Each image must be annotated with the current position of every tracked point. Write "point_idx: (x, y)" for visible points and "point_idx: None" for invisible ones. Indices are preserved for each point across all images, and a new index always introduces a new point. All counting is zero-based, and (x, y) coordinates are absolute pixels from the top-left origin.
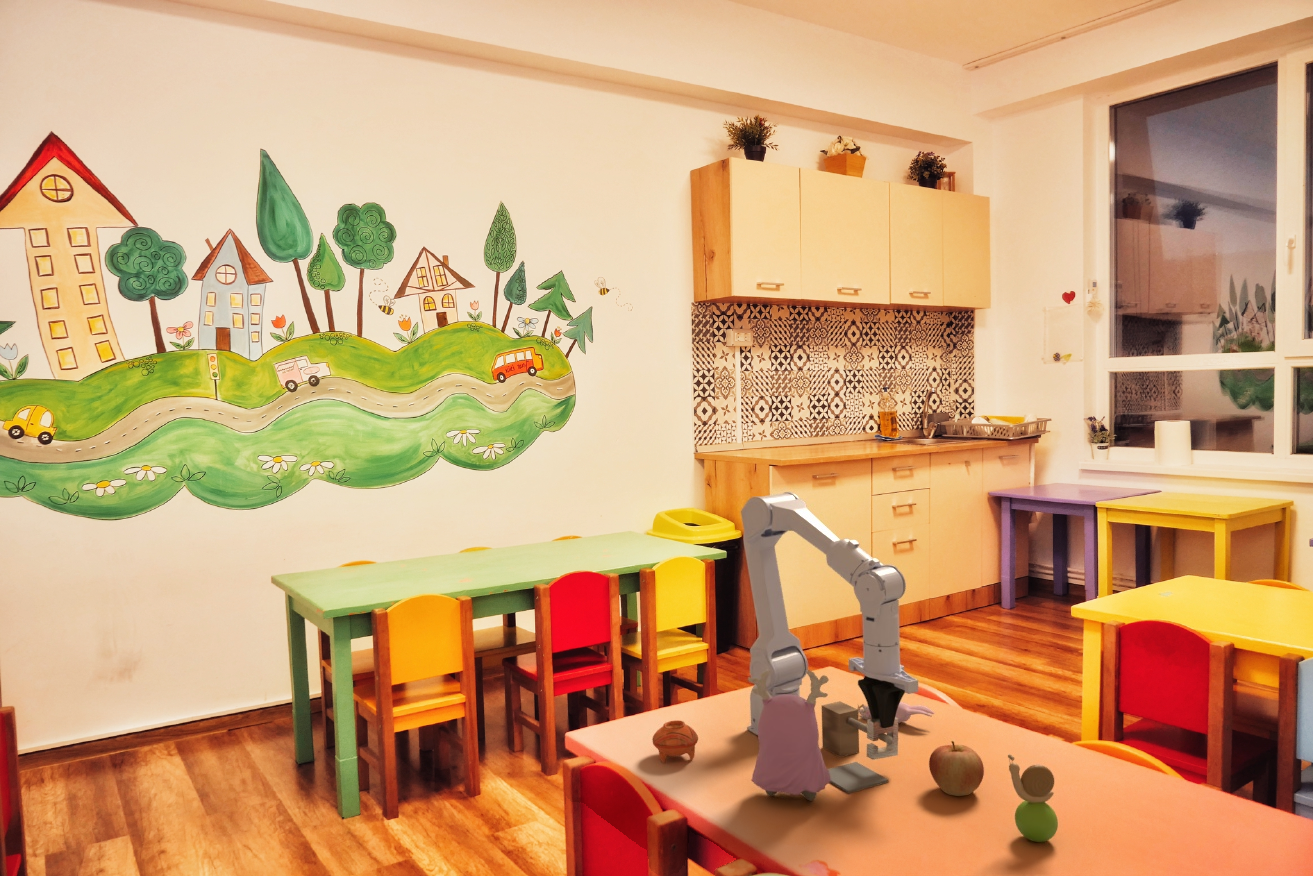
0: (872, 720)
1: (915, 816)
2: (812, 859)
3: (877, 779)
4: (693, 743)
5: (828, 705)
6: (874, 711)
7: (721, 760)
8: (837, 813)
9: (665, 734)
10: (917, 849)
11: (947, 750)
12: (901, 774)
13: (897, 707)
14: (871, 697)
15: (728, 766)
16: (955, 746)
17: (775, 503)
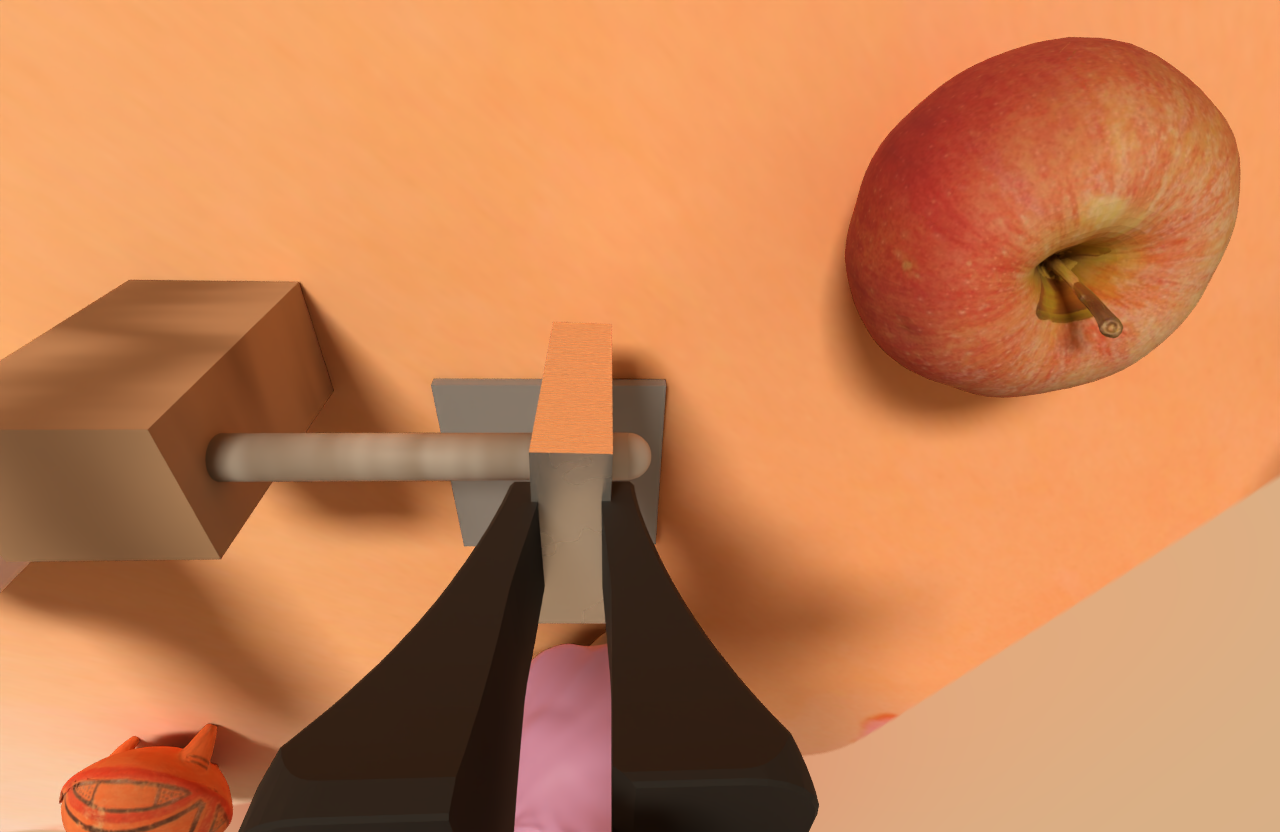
0: (566, 608)
1: (925, 471)
2: (858, 723)
3: (639, 420)
4: (209, 795)
5: (12, 533)
6: (536, 629)
7: (237, 680)
8: (738, 613)
9: None
10: (1033, 571)
11: (1041, 335)
12: (634, 279)
13: (675, 589)
14: (518, 759)
15: (293, 682)
16: (1060, 233)
17: None
